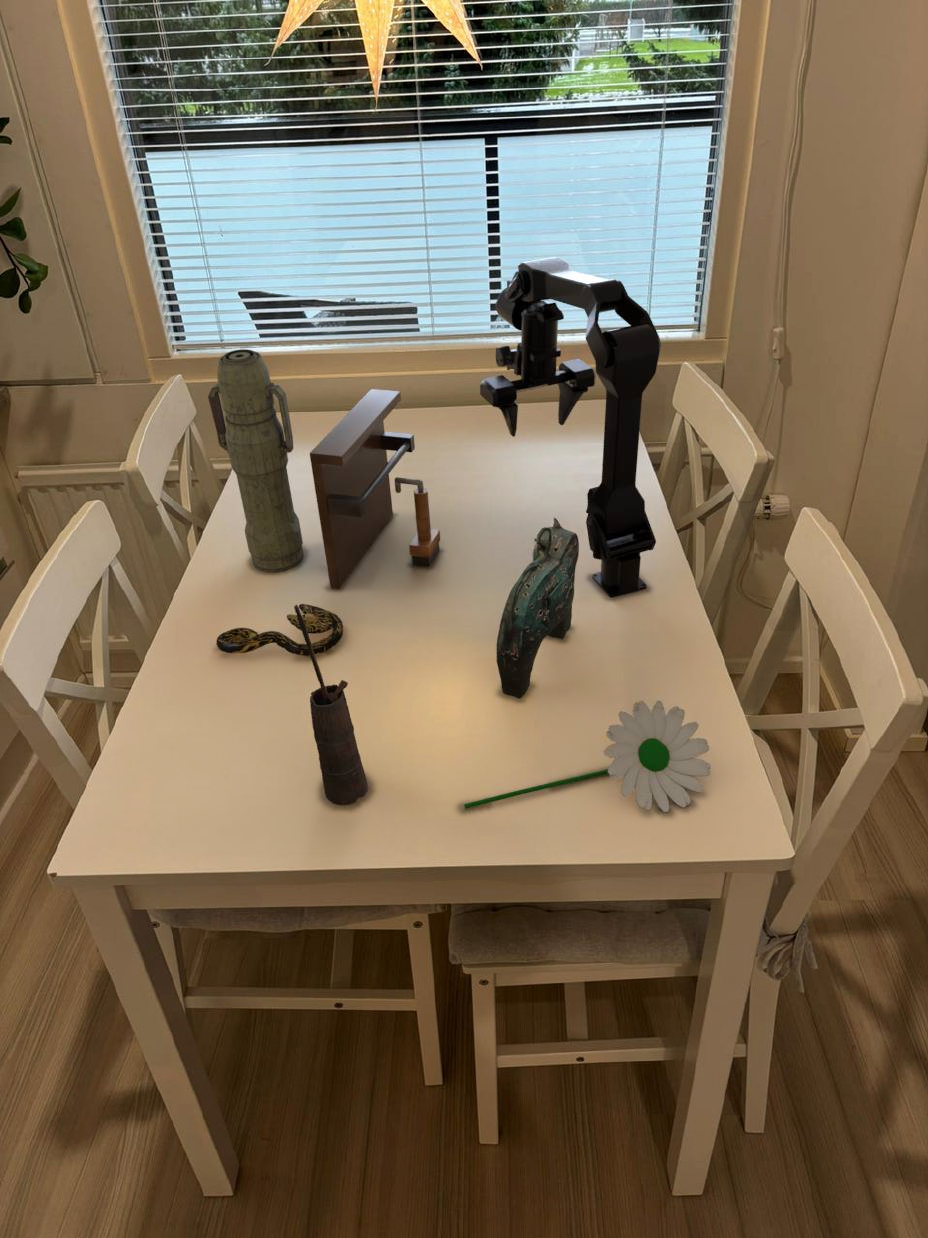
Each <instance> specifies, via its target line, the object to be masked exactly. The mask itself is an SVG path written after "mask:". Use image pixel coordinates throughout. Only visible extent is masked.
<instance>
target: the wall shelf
mask: <svg viewBox="0 0 928 1238" xmlns="http://www.w3.org/2000/svg"><path fill="white" fill-rule="evenodd" d="M401 401H402V395H401V391H400V390H389V389H378V388H377V389H375V388H371V389H370V390H369V391H368V392H367V393H366V394H365V395H363V397H362V398H361V399H360V400H359V401H358V402H357V403H356V404H355V405H354V406H353V407H352V409H351V410H350V411H349V412H348V413H347V414H346V415H345V416H343V418H341V420H340V421H339V422H338V423H337V424H336V425H335V426H334V427H333V428H332V429H331V430H330V431H329V432H328V433H327V435H325V436H324V437H323V439H321V440H320V442H319V443H318V444H316V446H315V447H314V448H313V449H312V450H311V451H310V452H309V458H310V465H311V472H312V479H313V484H314V491H315V498H316V504H317V510H318V516H319V517H318V518H319V523H320V530H321V537H322V541H323V548H324V555H325V561H326V569H327V575H328V581H329V587H330V589H333V590H340V589H341V588H342V587H343V585H344V584H345V583H346V581H347V580H348V579H349V577H350V576H351V574H352V573H353V571H354V570H355V569H356V567H357V566H358V565H359V563H360V562H361V560H362V559H363V558H364V557H365V555H366V553H367V552H368V551H369V549H370V548H371V547H372V545H373V544H374V542H375V541H376V539H377V538H378V537H379V535H380V534H381V533H382V531H384V529H385V527H386V526H387V525H388V523H389V522H390V520H391V519H392V518H393V517H394V511H393V510H394V509H393V501H392V491H391V483H390V482H391V481H390V473H391V472H392V470H394V468H395V467H396V465H397V464H398V463H399V462H400V460H401V459H402V457H403V456H404V455H405V454H406V453H413V451H414V450H415V449H416V446H415V434H414V433H403V432H394V431H391V432H390V431H385V423H384V421H385V420H386V419H387V417H388V416H389V415H390V414H391V413H392V412H393V410H394V409H395V408H396V407H397V406H398V405H399V403H400V402H401ZM387 451H392V452H395V453H394V454H393V455H392V457H391V458H390V459H389V460H388V454H387Z"/></svg>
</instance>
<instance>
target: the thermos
mask: <svg viewBox="0 0 928 1238" xmlns="http://www.w3.org/2000/svg"><path fill="white" fill-rule="evenodd" d="M216 378H217V379H216V380H217V384H215V385H213V386H212V387H211V389H210V391H209V393H208V396H207V399H208V403H209V406H210V411H211V414H212V418H213V422H214V427H215V430H216V434H217V439H218V446H219V447H221V448H222V449H223V450H224V451H225V452H227V454H228V458H229V462H230V466H231V469H232V471H233V472H234V473H235V475H236V480H237V483H238V484H237V485H238V489H239V494H240V499H241V504H242V509H243V513H244V518H245V527H244V534H245V539H246V543H247V548H248V552H249V554H251V563H252V566H253V567H254V568H255V569H256V570H258V571H260V572H264V573H273V574H275V573H283V572H286V571H289V570H292V569H294V568H296V567H298V566H299V565H300V564H301V563H302V562H303V561H304V558H305V554H304V553H305V552H304V549H303V544H304V541H303V536H302V531H301V523H300V518H299V516H298V515H297V513H296V511H295V509H294V503H293V497H292V492H291V491H292V490H291V487H290V485H291V484H290V480H289V474H288V468H287V466H288V462H289V456H288V453H292V452H293V450H294V436H293V429H292V424H291V417H290V411H289V406H288V400H287V393H286V392H285V391H284V390H283V388H282V387H281V386H280V385H278V384H275V383H274V382H271V376H270V370H269V367H268V366H267V364H266V362H265V361H264V359H263V357H262V354H261V353H259V352H258V351H255V350H252V349H247V348H245V349H244V348H243V349H241V348H240V349H235V350H231V351H229V352H226V353H225V354H223V355H222V356H220V358H219V359H218V366H217V374H216ZM274 396H275V397H276V398H277V400H278V405H279V411H280V412H279V413H280V417H281V421H280V419H279V418H278V416H277V410H276V409H275V406H274V405H275V399H274ZM220 398H221V399H220ZM223 411H224V412H225V417H224V413H223ZM281 423H282V424H281Z"/></svg>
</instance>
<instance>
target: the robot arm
mask: <svg viewBox="0 0 928 1238" xmlns="http://www.w3.org/2000/svg"><path fill="white" fill-rule="evenodd" d="M549 300H552V301H555V302H549ZM556 302H559V303H562V304H566V305H569V306H572V307H576V308H578V309H581V310H584V312H585V314H586V316H587V324H586V332H585V341H586V343H587V346H588V348H589V350H590V351H591V352H590V353H591V354H592V357H593V359H594V361H595V362H594V363H595V369H593V368H592V366H589V364H588V363H586V362H585V361H583V360H581V359H580V358H577V359H571V360H567V361H562V362H561V363H560V364H559V365H558V370H557V362H558V361H557V360H558V359H557V358H560V357H561V356H562V355H561V354H562V350H561V349H560V348H558V332H559V331H558V330H559V329H558V328H559V321H562V320H564V319H565V315H564V313H563V311H562V310H561V309H560V308H559V307H558V305H557V303H556ZM495 310H496V313H497V315H498V316H499V317H500V318H501V319H502V320H504V321H505V322H506V323H508V324H509V325H511V326H512V327H513V328H515V329H516V330H517V331H521V335H520V337H521V338H520V339H521V341H520V342H517V345H516V348H513V349H511V347H510V345H502V346H498V347H497V346H496V347H495V364H496V366H497V367H498V368H505V367H506V370H507V371H511V370H513V374H515V376H520V379H516V380H511V381H510V380H509V379H508V378H507V377H506V376H504V375H503V374H501V375H496V376H492V377H491V376H490V377H487V378H483V380H482V381H481V382H480V384H479V395H480V396H481V397H482V398H483V399H484V400H485V401H486V402H487V403H489V404H490V406H492V407H493V408H498V409H499V410H500V411H501V413H502V416H503V418H504V421H505V424H506V426H507V429H508V432H509V435H510V436H511V437H512V438H513V437H514V438H515V437H516V434H517V429H518V428H517V427H518V425H517V424H518V412H519V411H518V410H519V405H518V403H517V402H516V401H517V399H518V393H523V392H526V391H531V390H535V389H540V388H544V387H545V388H546V387H548V386H550V387H551V386H554V385H558V390H559V395H558V396H559V397H558V413H557V419H558V424H559V425H560V426H564V425H565V423H566V421H567V420H568V418H569V416H570V414H571V413H572V411H573V409H574V407H575V406H576V405H577V403H578V402H579V400H580V399H581V397H582V396H583V395H584V393H587V392H588V391H589V388H592V387H595V385H596V377H598V378H599V380H600V382H601V383H602V385H603V387H604V388H605V394H606V395H605V408H604V409H605V412H604V430H603V448H602V449H603V450H602V466H601V467H602V468H601V470H602V472H601V482H600V484H599V485H598V486H595V487H591V488H589V489H588V491H587V494H586V495H587V499H586V500H587V507H586V510H585V513H586V514H587V516H586V521H585V524H586V532H587V539H588V546H589V550H590V551H591V552H592V558H593V559H595V560H599V561H600V572H597V573H593V574H592V575H591V578H592V579H593V580H594V582H595V583H596V584H597V585H598V587H599V588H600V589H601V590H602V591H603V592H604V593H605V594H606V596H608V597H609V598H611V599H613V598H614V599H615V598H617V597H622V596H625V595H628V594H633V593H636V592H640V591H644V590H647V588H648V584H647V583H646V582H645V581H644V580H643V579H642V578H641V577H640V572H641V559H642V556H641V554H642V553H644V552H648V551H653V550H654V549H655V546H656V544H657V539H656V537H655V533H654V532H653V531H654V530H653V529H652V526H651V523H650V520H649V517H648V515H647V512H646V501H645V499H644V497H643V496H642V494H641V493H640V491H639V489H638V487H637V486H636V484H637V483H636V481H637V468H638V456H639V445H640V444H639V442H640V431H641V430H640V429H641V418H642V415H641V414H642V407H643V406H642V404H643V394H644V392H645V390H646V389H647V387H648V385H649V384H650V382H651V381H652V380H653V378H654V377H655V375H656V373H657V368H658V363H659V360H660V359H659V358H660V353H661V347H662V344H661V338H660V335H659V333H658V331H657V329H656V327H655V324H654V323H653V320H652V318H651V317H650V316H651V315H650V314H649V312H648V311H647V310H646V309H645V308H644V307H642V306H641V305H640V304H639V303H637V301H635V300H634V299H633V298H631V297H630V296H629V294H628V292H627V290H626V287H625V285H624V284H623V282H622V281H621V280H619V279H618V280H617V279H614V278H611V279H607V278H603V277H599V276H595V275H592V274H591V275H590V274H588V273H582V272H579V271H574V270H571V269H570V268H569V263H568V262H566V261H565V260H563V259H562V258H560V257H558V256H552V257H547V258H541V259H535V260H529V261H523V262H519V263H518V265H517V271H515V272H514V274H513V277H512V278H511V279H508V280H507V281H506V287H505V288H504V289H503V290H501V292H500V293H499V294H498V297H497V300H496V302H495ZM610 311H611V312H612V311H614V312H615V314H616V315H618V317H620V318H621V319H622V320H623V321H625V323H627V324H628V325H629V326H624V327H619V328H614V329H609V330H605V331H602V329H601V326H600V324H599V317H600V314H601V313H605V312H610Z"/></svg>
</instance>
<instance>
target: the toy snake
mask: <svg viewBox="0 0 928 1238" xmlns="http://www.w3.org/2000/svg"><path fill="white" fill-rule="evenodd" d="M298 608H299V610H300V612H301V615H302V618H303V620H304V622H305V625H306V628H307V631H308V634H311V635H314V634H323V633H326V632H328V631H330V630H331V629H332V633H330V634H329V635H328V636H326V637H323V638H322V639H320V640H318V641H315V642H311V644H312V648H313V651H314V654H315V656H316V655H318V654H323V653H327V652H328V651H330V650H331V649H332V648H333V647H335V646H337V644H338V643H339V642H340V641H341V639H343V636H344V624H343V621H342V619H341V618H340V617H339V616H338V615H337V614H336V613H334V612H332V611H329V610H327V609H324V608H322V607H319V606H316V605H311V604H307V603H300V604H299V605H298ZM286 619H287V621H288V622H289V623H290V625H292V626H294V627H295V628H296V629H297V630H299V631H301V632H302V630H301V628H300V625H299V622H298V619H297V614H291V613H289V614H287V615H286ZM215 644H216V646H217V648H218V650H219V651H221V652H223V653H226V654H232V655H235V654H246V653H250V652H254V651H256V650H258V649H259V648H262V647H264V646H266V645H270V644H276V646H278V647H280V648H282V649H284V651H287V653H290V654H292V655H297V656H301V657H302V656H303V657H310V654H309V651H308V648H307V645H306V643H299V642H297V641H295V640H293V639H292V638H290V637H289V636H287V635H286V634H284V633H282V632H280V631H276V630H268V631H264V632H263V631H262V632H261V633H258V632H257V631H256V630H254V629H251V628H249V627H236V628H231V629H230V630H229V629H228V630H226V631H224V632H222V633H220V634H219V635H218V636H217V638H216V643H215Z"/></svg>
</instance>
